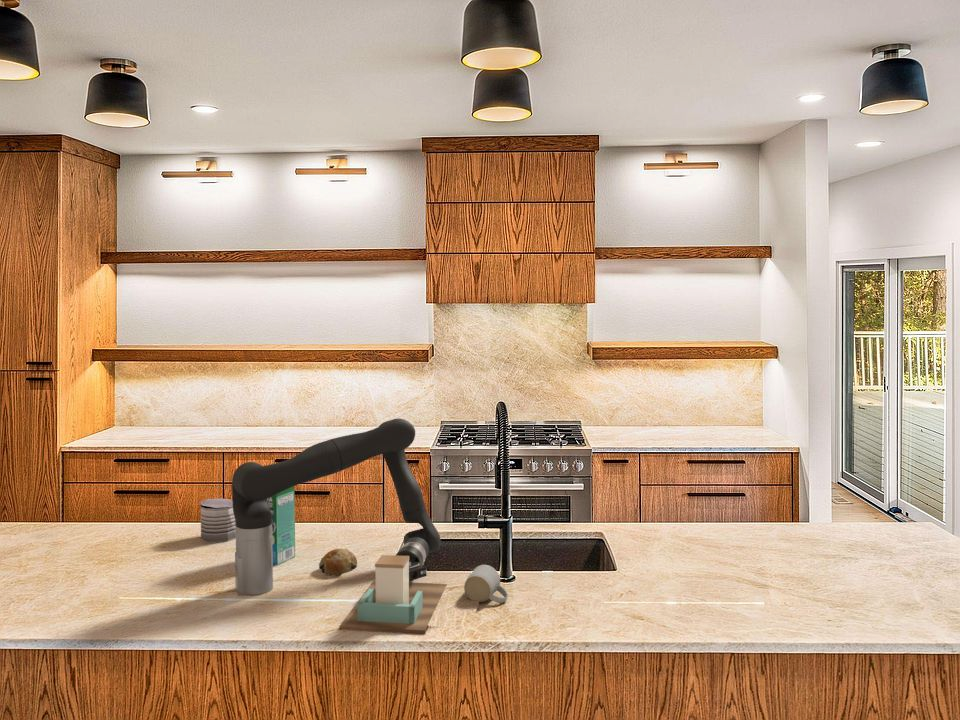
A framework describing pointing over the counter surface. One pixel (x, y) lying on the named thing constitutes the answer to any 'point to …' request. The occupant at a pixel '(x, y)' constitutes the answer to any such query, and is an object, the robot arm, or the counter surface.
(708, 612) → the counter surface
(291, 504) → the milk carton
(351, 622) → the board
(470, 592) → the ceramic mug
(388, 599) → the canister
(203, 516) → the can
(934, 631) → the counter surface
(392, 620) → the dock
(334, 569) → the bread roll
